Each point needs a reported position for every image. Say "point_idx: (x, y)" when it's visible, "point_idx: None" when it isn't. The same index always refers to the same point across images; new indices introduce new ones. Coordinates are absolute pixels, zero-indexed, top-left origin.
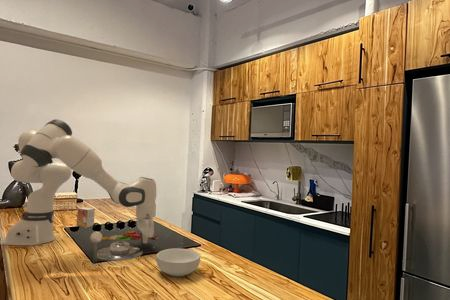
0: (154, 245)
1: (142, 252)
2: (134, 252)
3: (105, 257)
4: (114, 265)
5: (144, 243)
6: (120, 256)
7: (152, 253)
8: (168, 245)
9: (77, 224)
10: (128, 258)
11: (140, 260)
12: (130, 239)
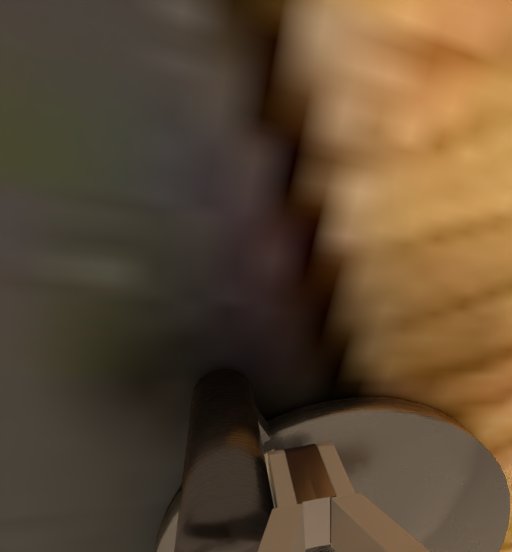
0: (34, 261)
1: (396, 416)
2: (373, 475)
3: None
4: None
5: (262, 446)
6: (430, 547)
7: (337, 308)
8: (30, 45)
9: None
10: (492, 499)
11: (470, 404)
12: None
